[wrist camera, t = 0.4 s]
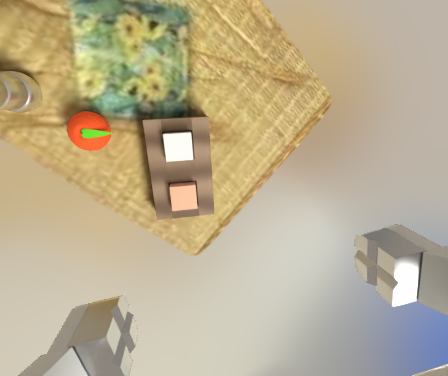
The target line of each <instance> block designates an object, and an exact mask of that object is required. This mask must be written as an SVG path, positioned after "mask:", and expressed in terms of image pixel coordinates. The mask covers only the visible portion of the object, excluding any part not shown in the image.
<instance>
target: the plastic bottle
mask: <svg viewBox="0 0 448 376" xmlns="http://www.w3.org/2000/svg"><path fill="white" fill-rule="evenodd" d="M41 99H42V93H41V89H40V87H39V85H38V84H37V83H36V82H35V81H34V80H33V79H32V78H31V77H29V76H27V75H25V74H23V73H20V72H16V71H3V72H0V109H2V110H9V111H13V112H28V111H31V110H33V109H35V108H36V107H38V105H39V104H40V102H41Z"/></svg>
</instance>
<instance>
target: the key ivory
mask: <svg viewBox="0 0 448 376" xmlns="http://www.w3.org/2000/svg"><path fill="white" fill-rule="evenodd" d="M163 138H164V146H165V155H166V162H170V161H184V160H193V149H192V137H191V131H186V132H169V133H164V134H163Z"/></svg>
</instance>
